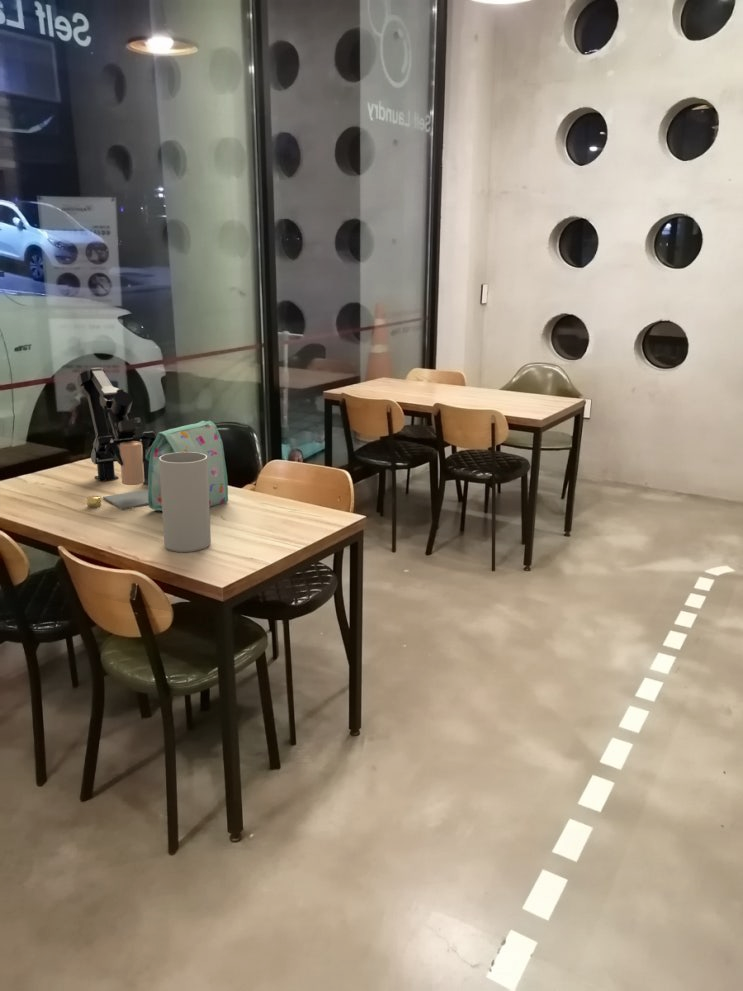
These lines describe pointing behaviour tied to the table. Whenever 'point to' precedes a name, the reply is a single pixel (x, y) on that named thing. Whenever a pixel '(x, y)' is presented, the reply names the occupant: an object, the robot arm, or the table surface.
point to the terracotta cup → (132, 462)
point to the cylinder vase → (185, 501)
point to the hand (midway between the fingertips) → (133, 463)
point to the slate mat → (129, 499)
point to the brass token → (93, 501)
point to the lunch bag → (189, 440)
